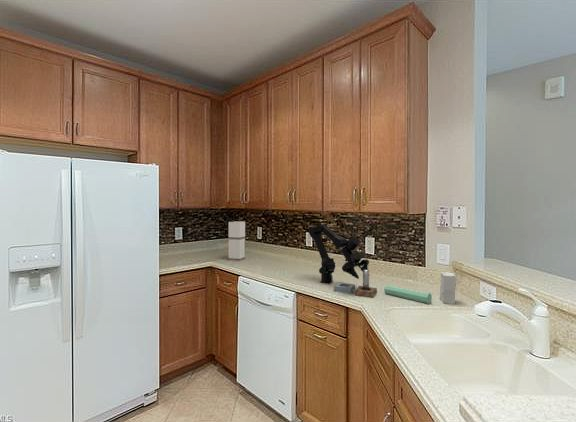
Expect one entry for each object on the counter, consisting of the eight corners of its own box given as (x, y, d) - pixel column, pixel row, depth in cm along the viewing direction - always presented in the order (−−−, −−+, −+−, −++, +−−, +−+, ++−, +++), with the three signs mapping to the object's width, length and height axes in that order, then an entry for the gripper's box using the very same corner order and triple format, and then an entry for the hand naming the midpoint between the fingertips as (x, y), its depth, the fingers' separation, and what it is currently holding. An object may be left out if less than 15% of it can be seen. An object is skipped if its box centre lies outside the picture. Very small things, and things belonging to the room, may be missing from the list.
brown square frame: (354, 295, 168) (354, 290, 168) (359, 290, 177) (359, 285, 177) (372, 297, 163) (372, 292, 163) (376, 293, 172) (376, 288, 172)
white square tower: (245, 259, 278) (245, 221, 278) (239, 261, 268) (239, 222, 267) (234, 258, 282) (234, 221, 281) (228, 260, 272) (228, 221, 271)
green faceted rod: (383, 283, 172) (428, 291, 153) (388, 285, 175) (432, 294, 157) (381, 293, 170) (426, 303, 152) (386, 295, 174) (430, 305, 155)
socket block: (333, 291, 176) (333, 286, 176) (339, 287, 184) (339, 282, 184) (350, 293, 171) (350, 288, 171) (355, 289, 180) (355, 284, 180)
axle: (362, 294, 169) (362, 270, 169) (363, 293, 172) (363, 268, 172) (368, 295, 168) (368, 270, 167) (369, 293, 171) (369, 269, 170)
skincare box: (439, 298, 163) (439, 271, 162) (451, 299, 161) (452, 272, 161) (442, 303, 155) (443, 274, 154) (455, 304, 153) (456, 275, 153)
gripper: (345, 248, 169) (360, 271, 161) (366, 245, 181) (382, 267, 172) (335, 260, 176) (349, 282, 167) (356, 257, 187) (371, 278, 178)
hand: (363, 277), depth 171 cm, fingers open, 9 cm apart
